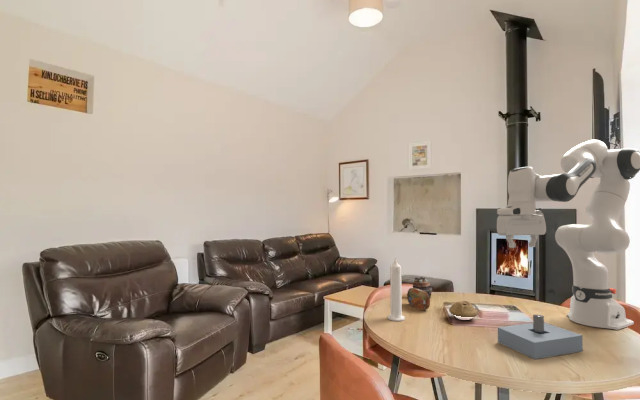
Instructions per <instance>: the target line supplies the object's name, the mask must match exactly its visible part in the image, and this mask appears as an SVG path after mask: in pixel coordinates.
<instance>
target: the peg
mask: <svg viewBox="0 0 640 400" xmlns="http://www.w3.org/2000/svg"><path fill="white" fill-rule="evenodd" d="M544 322H545V317H544V315H541V314H532V323H533V332H535V333H538V334H544Z"/></svg>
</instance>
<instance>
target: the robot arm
mask: <svg viewBox="0 0 640 400" xmlns="http://www.w3.org/2000/svg"><path fill="white" fill-rule="evenodd" d="M560 167H561V170H562V171H563V172H564V173H557V174H551V175H550V174H549V175H540V174H538V173H536V172H535V171H534V169H533V167H532V166H522V167H516V168H513V169H511V170H509V174H508V176H507V177H508V178H507V194H508V201H507V205H505V206H502V207H500V208H498V209H497V210H496V214H497V215H498V216H497V219H496V233H497V234H498V235H499V236H503V237H505V239H506V241H507V243H508V248H511V249H515V248H516V247H517V243H516V242H515V241H514V237H515V236H529V237H530V241H528V247H529V248H536V244H537V243H536V242H537V241H538V239H539V236H540V235H542V236H543V235H545V234H546V233H547V223H546V220H545V219H546V218H545V216H544V213H543V212H542V211H541V210H540V209H537V210H536V202H561V203H567V202H569V201H572V200H573V199H574V198H575V197H576V196H577V194H578V192H579V190H580V188H581V187H582V186H583V185H584V184H586V182H587V181H588V180H589V179H594V178H600V181H599V183H598V185H597V186H596V188H595V189H594V191H593V193H592V194H591V196H590V199H589V201H588V203H587V205H586V207H585V213H586V215H587V216H588V218H590V219H591V220H592V222H591V223H590V224H581V223H579V224H578V223H572V224H565V225H561V226H559V227H558V228H557V230H556V231H555V234H554V238H555V242H556V243H557V245H558V246H559V247H560V248H562V250H564V251H565V253H566V255H567V256H568V258H569V260H570V262H571V266H572V277H573V278H572V279H573V280H572V281H573V284H572V287H571V290H572V292H571V293H572V294H573V295H572V296H571V297H570V304H569V312H567V314H566V315H567V317H568V318H569V320H570V321H572V322H574V323H577V324H580V325H584V326H587V327H594V328H601V329H602V328H603V329H611V330H616V331H618V330H621V329H624V328H627V327H630V326H633V325H634V324H635V323H634V321H633V320H632V319H629V318H627V317H626V315H627V314H626V310H625V307H624V306H623V305H621V304H620V303H619V302H618V301H616V300H615V299H614V298H613V294H614V295H616V294H617V289H616V288H612V287H609V269H608V268H607V266H606V265H605V264H604V263H602V262H600V261H599V260H598V259H597V258H596V256H595V254H594V253H596V254H603V255H604V254H605V255H609V254H610V255H612V254H621V253H624V252H625V251H626V250H627V249H628V248H629V246H630V242H631V241H630V239H631V238H630V236H629V234H628V232H627V231H626V230H625V229H624V228H622V226H621V224H620V216H621V214H622V212H623V209H624V207H625V205H626V202H627V200H628V196H629V194H630V190H631V189H630V188H631V183H630V181H629V180H632V179H634V178H635V177H636V175H637V174H638V173H639V172H640V151H639V149H637V148H631V147H624V148H619V149H618V148H617V149H609V148H608V146H607V145H606V143H605V142H604V141H601V140H599V139H590V140H587V141H585V142H581V143H579V144H577V145H576V146H574V147H571V149H570V150H568V151H567V152H566V153H564V155H562V156H561V158H560Z"/></svg>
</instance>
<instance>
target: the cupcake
mask: <svg viewBox="0 0 640 400" xmlns="http://www.w3.org/2000/svg"><path fill="white" fill-rule="evenodd" d="M412 288H417V289H419V290H422V291H425V292H427V293H428V295H429V297H430V299H431V298H432V291H433V287H431V283H430V282H429V281H428V280H427V279H426V278H425V277H420V278H419V277H415V278H414V280H413V282H412Z"/></svg>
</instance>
